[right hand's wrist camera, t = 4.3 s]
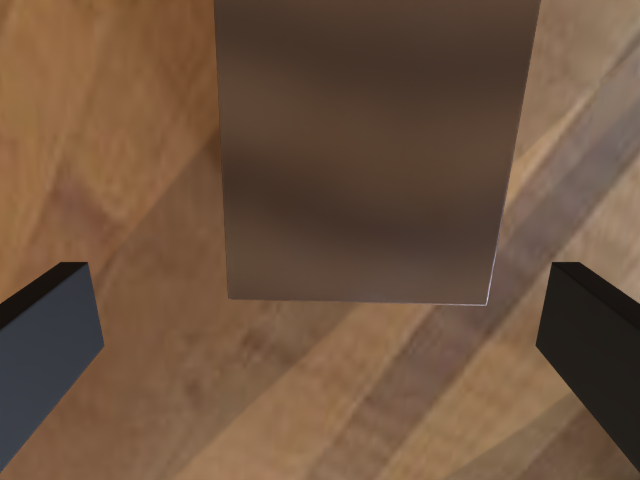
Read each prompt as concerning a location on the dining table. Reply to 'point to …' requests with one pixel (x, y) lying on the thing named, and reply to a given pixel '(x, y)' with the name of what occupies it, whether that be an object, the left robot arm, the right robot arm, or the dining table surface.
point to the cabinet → (368, 145)
